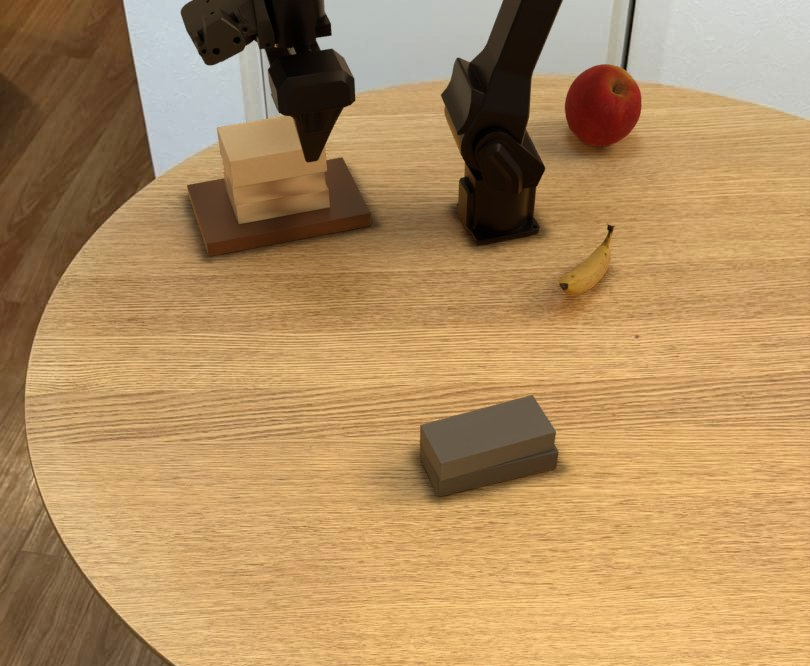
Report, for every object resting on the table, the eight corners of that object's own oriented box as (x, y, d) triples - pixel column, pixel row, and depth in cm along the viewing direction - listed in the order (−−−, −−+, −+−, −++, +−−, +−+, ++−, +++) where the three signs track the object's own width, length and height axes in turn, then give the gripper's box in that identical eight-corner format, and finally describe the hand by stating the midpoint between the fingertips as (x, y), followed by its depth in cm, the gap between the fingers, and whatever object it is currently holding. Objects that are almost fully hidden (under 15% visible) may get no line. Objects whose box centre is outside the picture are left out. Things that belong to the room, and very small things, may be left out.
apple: (565, 162, 119) (574, 90, 113) (558, 120, 124) (566, 48, 118) (639, 162, 119) (651, 89, 113) (628, 119, 124) (640, 48, 118)
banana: (571, 322, 103) (576, 286, 100) (547, 313, 104) (551, 277, 101) (618, 262, 109) (624, 226, 106) (595, 254, 109) (600, 218, 106)
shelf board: (343, 169, 118) (340, 120, 114) (370, 225, 112) (369, 176, 108) (188, 197, 115) (180, 148, 111) (208, 256, 109) (200, 207, 105)
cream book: (311, 137, 112) (309, 111, 110) (327, 171, 109) (325, 144, 106) (220, 153, 110) (216, 126, 108) (233, 188, 107) (229, 161, 105)
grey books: (534, 428, 95) (538, 393, 92) (557, 470, 92) (562, 435, 89) (417, 455, 93) (417, 420, 90) (436, 499, 90) (437, 464, 87)
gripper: (161, -88, 93) (191, 92, 106) (201, 21, 82) (228, 208, 94) (296, -105, 95) (309, 74, 107) (352, -1, 84) (360, 186, 96)
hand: (299, 132), depth 101 cm, fingers open, 9 cm apart
